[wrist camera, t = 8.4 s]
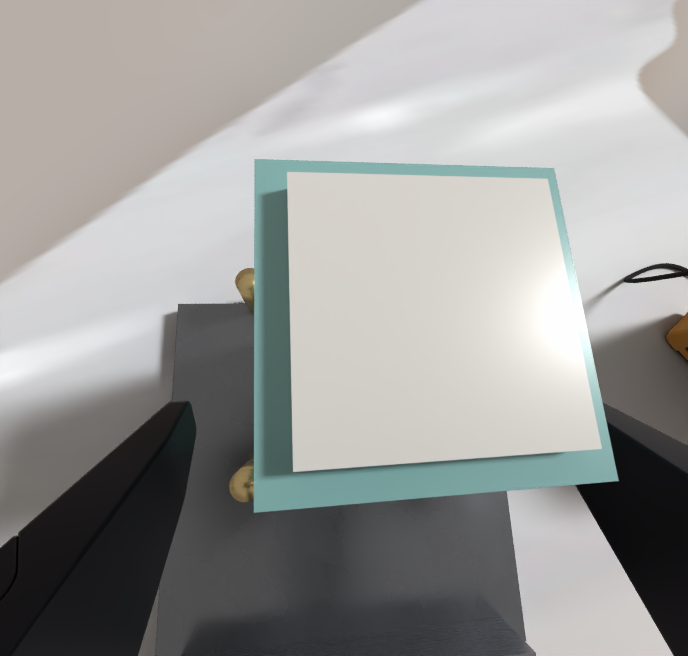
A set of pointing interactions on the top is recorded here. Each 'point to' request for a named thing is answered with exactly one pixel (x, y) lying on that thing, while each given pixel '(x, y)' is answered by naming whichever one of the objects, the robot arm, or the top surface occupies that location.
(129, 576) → the robot arm
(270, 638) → the plate
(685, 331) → the multimeter
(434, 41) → the top surface
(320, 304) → the plate
